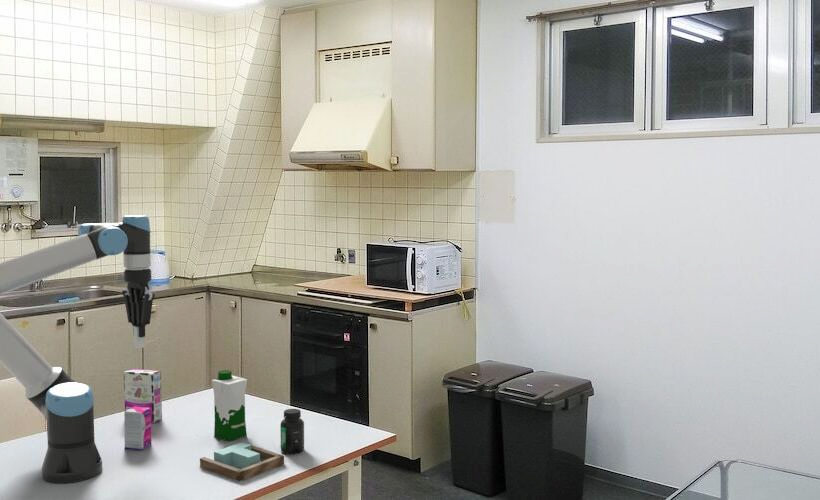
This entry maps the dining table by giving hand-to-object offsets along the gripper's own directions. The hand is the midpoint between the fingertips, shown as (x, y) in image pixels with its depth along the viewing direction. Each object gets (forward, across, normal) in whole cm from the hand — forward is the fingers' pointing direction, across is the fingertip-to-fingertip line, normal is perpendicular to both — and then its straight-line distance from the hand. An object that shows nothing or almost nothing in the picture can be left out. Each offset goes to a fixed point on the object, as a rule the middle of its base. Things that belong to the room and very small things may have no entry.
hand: (139, 347), depth 237 cm
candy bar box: (+30, +20, -14) cm, 38 cm away
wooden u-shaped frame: (+29, -36, -7) cm, 47 cm away
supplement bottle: (+30, -39, -24) cm, 55 cm away
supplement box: (+30, -1, +2) cm, 30 cm away
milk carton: (+30, -15, -21) cm, 39 cm away
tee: (+29, -36, -7) cm, 47 cm away
